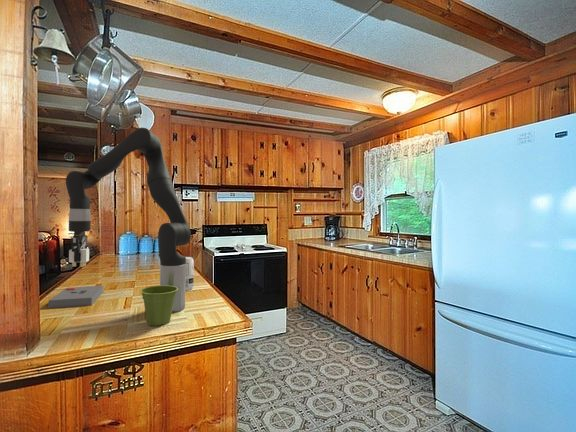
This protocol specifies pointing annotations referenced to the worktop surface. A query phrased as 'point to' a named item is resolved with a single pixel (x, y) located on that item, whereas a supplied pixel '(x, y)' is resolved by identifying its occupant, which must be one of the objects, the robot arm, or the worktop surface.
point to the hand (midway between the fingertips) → (79, 260)
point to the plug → (83, 257)
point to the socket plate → (76, 296)
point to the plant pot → (158, 303)
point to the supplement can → (189, 273)
